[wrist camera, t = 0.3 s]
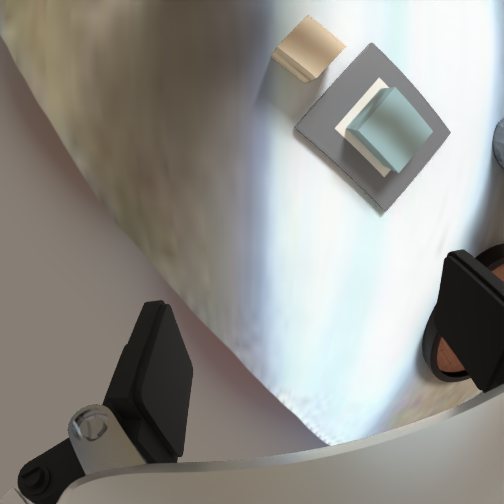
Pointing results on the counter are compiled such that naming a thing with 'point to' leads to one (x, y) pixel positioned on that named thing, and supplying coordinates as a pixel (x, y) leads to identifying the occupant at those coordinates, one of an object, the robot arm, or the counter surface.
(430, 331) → the round serving tray
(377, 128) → the teal base block
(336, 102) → the build board
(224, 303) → the counter surface
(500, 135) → the moka pot
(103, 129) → the counter surface
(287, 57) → the maple block
